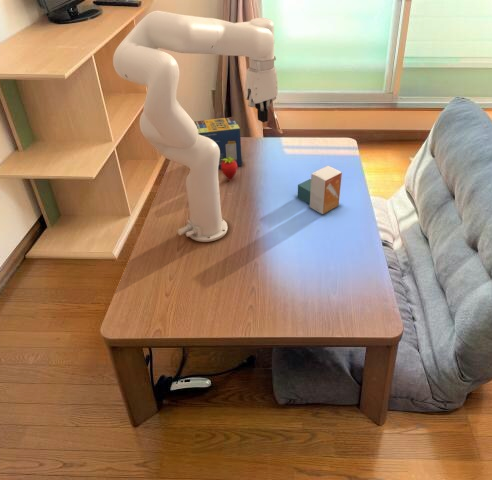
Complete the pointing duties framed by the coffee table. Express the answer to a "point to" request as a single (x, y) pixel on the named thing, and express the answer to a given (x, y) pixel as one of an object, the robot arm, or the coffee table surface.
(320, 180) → the small box
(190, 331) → the coffee table surface
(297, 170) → the coffee table surface
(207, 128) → the protein box
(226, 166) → the strawberry
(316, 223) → the coffee table surface
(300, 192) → the teal block
